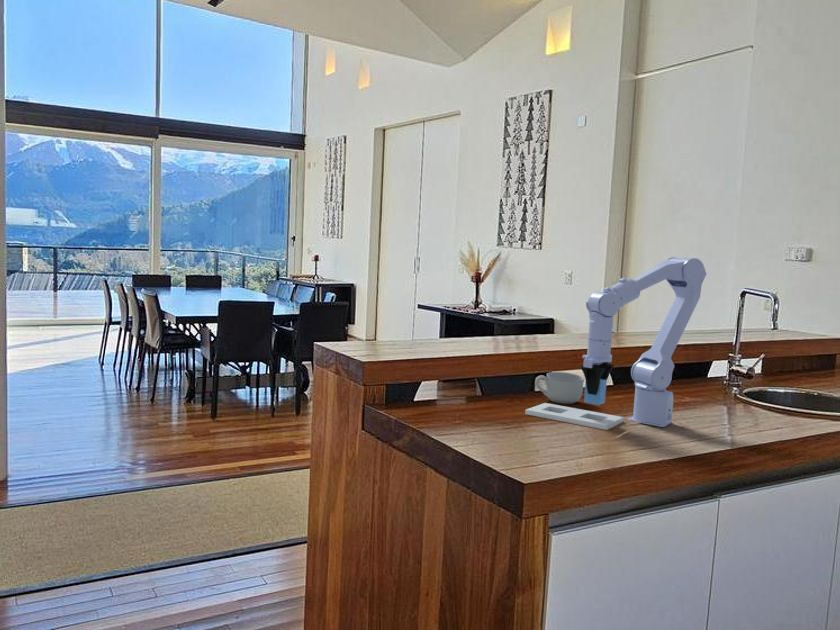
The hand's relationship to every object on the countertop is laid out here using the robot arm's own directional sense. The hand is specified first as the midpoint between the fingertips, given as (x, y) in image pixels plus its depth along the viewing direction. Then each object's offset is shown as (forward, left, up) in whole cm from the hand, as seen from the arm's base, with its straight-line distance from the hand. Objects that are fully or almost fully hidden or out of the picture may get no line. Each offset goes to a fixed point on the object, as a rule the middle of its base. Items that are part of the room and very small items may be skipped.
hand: (595, 392), depth 181 cm
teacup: (+17, -17, -8) cm, 26 cm away
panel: (+5, 0, -8) cm, 10 cm away
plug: (0, 0, -2) cm, 3 cm away
